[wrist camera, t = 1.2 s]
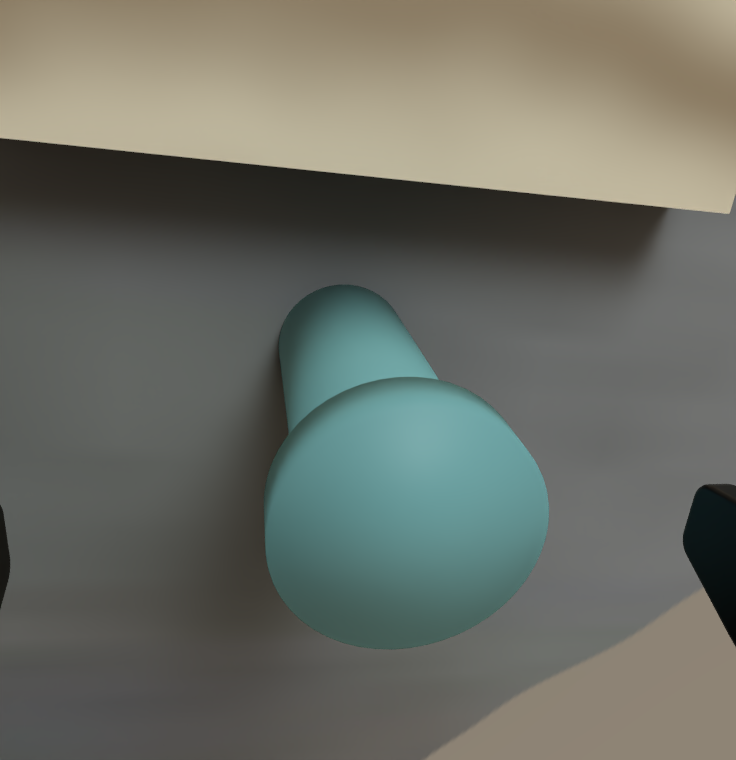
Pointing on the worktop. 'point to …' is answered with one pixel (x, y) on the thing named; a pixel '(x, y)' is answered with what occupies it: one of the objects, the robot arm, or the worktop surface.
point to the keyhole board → (394, 89)
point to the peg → (391, 484)
